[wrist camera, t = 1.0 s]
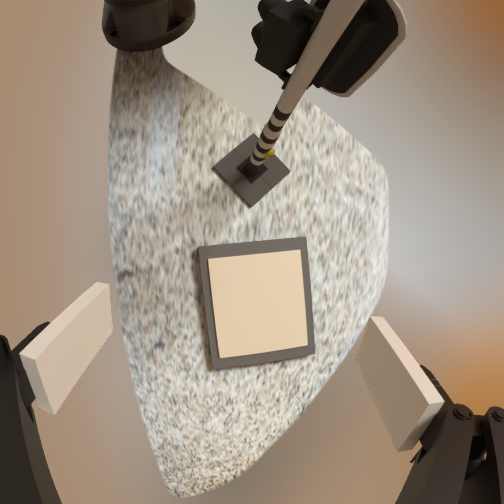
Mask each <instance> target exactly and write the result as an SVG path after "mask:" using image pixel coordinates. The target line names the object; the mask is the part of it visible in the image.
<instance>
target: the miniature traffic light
mask: <svg viewBox="0 0 504 504" xmlns="http://www.w3.org/2000/svg"><path fill="white" fill-rule="evenodd" d="M258 11H259V13H260V16H261V18H262V20H263V21H261V22H259V23H258V24H257V25H256V26H254V27H253V29H252V32H251V34H252V37H253V40H254V42H255V44H256V46H257V48H258V50H257V53H256V57H255V61H256V62H258V63H259V64H260V65H261V66H263V67H265V68H266V69H268V70H270V71H271V72H273V73H275V74H276V75H278V77H279V78H280V79H281V80H282V81H284V84H283V86H282V89H283V90H284V91H283V93H282V95H281V97H280V99H279V101H278V103H277V105H276V107H275V109H274V111H273V113H272V115H271V118H270V120H269V122H268V123H267V124H266V125H265V126H264V128H263V131H262V133H261V135H260V137H259V138H258V137H257V136H256V135H255V134H254V133H253V134H252V135H251V136H249V137H248V138H247V139H246V140H244V141H243V142H242V143H241V144H240V145H238V146H237V147H236V148H235V149H234V150H232V151H231V152H230V153H229V154H227V155H226V156H225V157H224V158H223V159H222V160H220V161H219V162H218V163H217V164H216V165H214V166H213V168H214V169H215V170H216V171H217V172H218V173H219V174H220V175H221V176H222V177H223V178H224V179H225V180H226V181H227V182H228V183H229V184H230V185H231V186H232V187H233V188H234V189H235V191H236V192H237V193H238V194H239V195H240V196H241V197H242V198H243V199H244V200H245V201H246V202H247V203H248V204H249V205H250V206H251V207H252V206H253V205H254V204H255V203H256V202H258V201H259V200H260V199H261V198H262V197H263V196H264V195H265V194H266V193H267V192H268V191H269V190H271V189H272V188H273V187H274V186H275V185H276V184H277V183H278V182H279V181H281V180H282V179H283V178H284V177H285V176H286V175H287V174H288V173H289V172H291V171H290V170H289V169H288V168H287V167H286V166H285V165H284V164H283V163H282V162H281V161H280V160H279V159H278V157H277V156H276V155H275V154H274V152H275V150H274V149H273V148H272V147H273V146H274V144H275V142H276V141H277V139H278V137H279V136H280V134H281V132H282V128H283V126H284V124H285V123H286V121H287V120H288V118H289V116H290V115H291V113H292V111H293V110H294V108H295V107H296V105H297V103H298V102H299V100H300V98H301V97H302V95H303V94H304V92H305V90H307V89H308V88H309V87H310V86H311V85H312V84H313V85H315V86H316V87H317V88H320V87H322V88H323V89H325V90H327V91H328V92H330V93H332V94H334V95H337V96H339V97H349V96H350V95H351V94H352V93H353V92H355V90H357V89H358V88H359V87H360V86H361V85H362V84H363V83H364V82H365V81H366V80H367V79H369V78H370V77H371V76H372V75H373V74H374V73H375V72H376V71H377V70H378V69H379V68H380V67H381V66H382V64H383V63H384V62H385V61H386V60H387V58H389V56H390V55H391V54H392V53H393V52H394V51H395V50H396V49H397V47H398V46H399V45H400V44H401V43H402V42H403V41H404V40H405V38H406V37H407V36H408V24H407V21H406V18H405V15H404V12H403V10H402V8H401V7H400V5H399V4H398V2H397V1H396V0H311V2H310V4H308V3H307V2H305V1H304V0H292V1H290V2H287V1H286V0H261V1H260V2H259V4H258ZM295 64H297V65H296V67H295V69H294V71H293V73H292V74H289V73H288V72H287V71H286V70H287V69H289V68H290V67H292V66H294V65H295Z"/></svg>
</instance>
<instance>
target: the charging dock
mask: <svg viewBox="0 0 504 504" xmlns="http://www.w3.org/2000/svg"><path fill="white" fill-rule="evenodd" d="M198 249H199V259H200V269H201V278H202V287H203V296H204V304H205V313H206V321H207V328H208V336H209V343H210V350H211V357H212V364H213V369H221V368H230V367H238V366H245V365H253V364H259V363H266V362H272V361H279V360H285V359H290V358H296V357H301V356H307V355H312V354H315V344H314V327H313V312H312V298H311V285H310V273H309V262H308V251H307V241H306V237H297V238H286V239H275V240H264V241H253V242H243V243H232V244H222V245H212V246H202V247H198Z"/></svg>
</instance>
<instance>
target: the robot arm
mask: <svg viewBox="0 0 504 504" xmlns="http://www.w3.org/2000/svg"><path fill="white" fill-rule="evenodd" d="M194 19H195V1H194V0H104V8H103V17H102V29H103V33H104V35H105V37H106V39H107V41H108V42H109V43H110V44H111V45H112V46H114V47H116V48H118V49H121V50H125V51H144V50H150V49H154V48H157V47H161V46H163V45H166V44H168V43H170V42H172V41H174V40H175V39H177V38H179V37H180V36H182V35H183V34H184V33H185V32H186V31H187V30H188V29H189V28H190V27H191V25H192V24H193V22H194ZM112 332H113V327H112V316H111V304H110V287H109V284H105V283H100V282H96V283H95V284H93V285H92V286H91V287H90V288H89V289H88V290H86V291H85V292H84V293H83V294H82V295H81V296H80V297H79V298H77V299H76V300H75V301H74V302H73V303H72V304H71V305H70V306H69V307H67V308H66V309H65V310H64V311H63V312H62V313H61V314H60V315H59V316H58V317H57V318H55V319H54V320H53V321H52V322H51V323H50V322H46V323H43V324H41V325H39V326H37V327H36V328H35V329H34V330H33V331H32V332H31V333H30V334H29V335H28V336H27V337H26V338H25V339H24V340H22V341H21V342H20V343H19V344H18V345H17V346H16V347H15V348H14V349H13V350H12V351H11V349H10V346H9V343H8V340H7V338H6V337H5V336H3V335H0V504H62V503H61V501H60V498H59V495H58V493H57V490H56V488H55V485H54V482H53V479H52V477H51V474H50V471H49V468H48V465H47V462H46V458H45V455H44V451H43V448H42V444H41V440H40V437H39V433H38V429H37V425H36V420H35V415H34V410H33V408H32V406H31V404H32V402H33V401H34V400H35V399H36V401H37V404H38V406H39V408H40V409H41V410H44V411H46V412H48V413H51V414H53V415H55V414H56V412H57V411H58V409H59V408H60V406H61V405H62V403H63V402H64V400H65V399H66V397H67V396H68V394H69V393H70V391H71V390H72V388H73V387H74V385H75V384H76V382H77V381H78V379H79V378H80V377H81V375H82V374H83V372H84V371H85V369H86V368H87V366H88V365H89V364H90V362H91V361H92V359H93V358H94V356H95V355H96V354H97V352H98V351H99V350H100V348H101V347H102V345H103V344H104V343H105V341H106V340H107V338H108V337H109V336H110V334H111V333H112ZM355 361H356V363H357V365H358V367H359V369H360V371H361V373H362V375H363V378H364V380H365V382H366V384H367V386H368V388H369V390H370V392H371V395H372V397H373V399H374V401H375V403H376V406H377V408H378V410H379V412H380V414H381V417H382V419H383V421H384V423H385V426H386V428H387V430H388V432H389V435H390V437H391V439H392V441H393V444H394V446H395V449H396V451H397V452H400V451H406V450H411V449H413V448H414V446H415V445H416V444H417V442H418V441H419V440H420V442H421V444H422V447H421V449H420V450H419V451H418V452H417V454H416V455H415V456H414V458H413V459H412V460H411V461H410V463H412V462H413V461H414V460H415V461H414V464H413V466H412V469H411V471H410V473H409V475H408V478H407V480H406V482H405V484H404V487H403V489H402V491H401V493H400V495H399V497H398V499H397V501H396V503H395V504H504V409H502V408H500V407H491V408H489V409H488V411H487V412H486V414H485V415H484V416H482V415H474V414H473V412H472V411H471V410H470V409H469V408H468V407H466V406H464V405H462V404H454V403H453V402H452V401H451V399H450V398H449V396H448V395H447V394H446V392H445V391H444V389H443V388H442V386H440V384H439V382H438V381H437V380H436V378H435V377H434V375H433V374H432V373H431V371H429V370H428V369H427V368H425V367H424V366H423V365H419V364H418V363H417V362H416V360H415V359H414V358H413V356H412V355H411V354H410V352H409V351H408V349H407V348H406V347H405V345H404V344H403V343H402V341H401V340H400V339H399V338H398V337H397V335H396V334H395V332H394V331H393V330H392V328H391V327H390V326H389V325H388V323H387V322H386V321H385V319H384V318H383V317H374V316H370V318H369V321H368V324H367V327H366V330H365V334H364V336H363V339H362V342H361V345H360V348H359V350H358V353H357V356H356V359H355ZM486 452H487V456H486V460H485V459H484V455H485V453H486Z"/></svg>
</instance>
